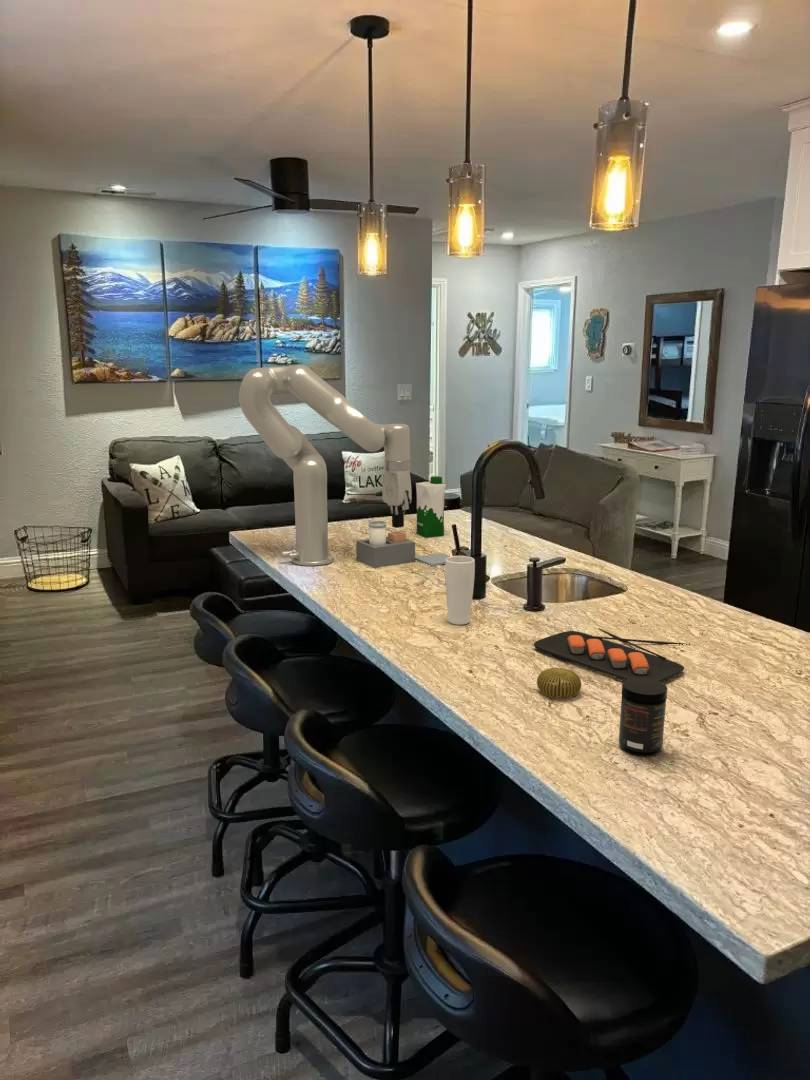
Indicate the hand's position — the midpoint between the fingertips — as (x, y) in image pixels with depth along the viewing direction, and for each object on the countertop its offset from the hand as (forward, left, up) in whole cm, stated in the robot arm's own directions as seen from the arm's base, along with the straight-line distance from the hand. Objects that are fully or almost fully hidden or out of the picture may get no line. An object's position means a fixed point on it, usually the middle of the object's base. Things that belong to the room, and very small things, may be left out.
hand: (398, 526), depth 241 cm
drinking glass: (-18, -58, -10) cm, 62 cm away
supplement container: (-29, -123, -10) cm, 127 cm away
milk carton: (+27, +23, -10) cm, 37 cm away
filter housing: (-4, 0, -10) cm, 11 cm away
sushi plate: (+1, -92, -11) cm, 92 cm away
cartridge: (-7, 0, -10) cm, 12 cm away
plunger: (0, 0, -7) cm, 7 cm away
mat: (+9, -8, -10) cm, 15 cm away
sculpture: (-26, -100, -10) cm, 104 cm away
